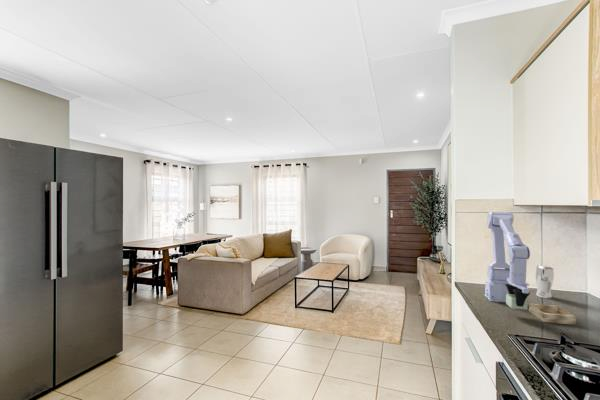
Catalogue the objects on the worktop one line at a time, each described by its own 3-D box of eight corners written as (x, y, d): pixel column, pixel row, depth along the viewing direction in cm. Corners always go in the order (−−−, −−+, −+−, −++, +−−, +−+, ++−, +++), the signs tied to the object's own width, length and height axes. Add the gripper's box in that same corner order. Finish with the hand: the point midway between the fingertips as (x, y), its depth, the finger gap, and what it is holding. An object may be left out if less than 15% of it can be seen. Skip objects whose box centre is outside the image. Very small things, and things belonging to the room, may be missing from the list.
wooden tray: (542, 321, 119) (542, 313, 119) (528, 310, 130) (529, 303, 129) (575, 324, 117) (576, 316, 116) (558, 313, 127) (559, 305, 127)
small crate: (511, 308, 123) (511, 298, 122) (505, 303, 128) (506, 293, 127) (527, 309, 121) (527, 299, 121) (521, 304, 126) (521, 295, 126)
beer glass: (548, 294, 149) (549, 266, 148) (555, 299, 142) (556, 270, 142) (532, 292, 151) (533, 265, 150) (538, 297, 145) (539, 268, 144)
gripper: (538, 279, 116) (536, 311, 116) (519, 268, 130) (518, 297, 130) (518, 277, 117) (516, 309, 118) (502, 267, 131) (501, 296, 132)
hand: (516, 303), depth 124 cm, fingers closed on small crate, 5 cm apart
